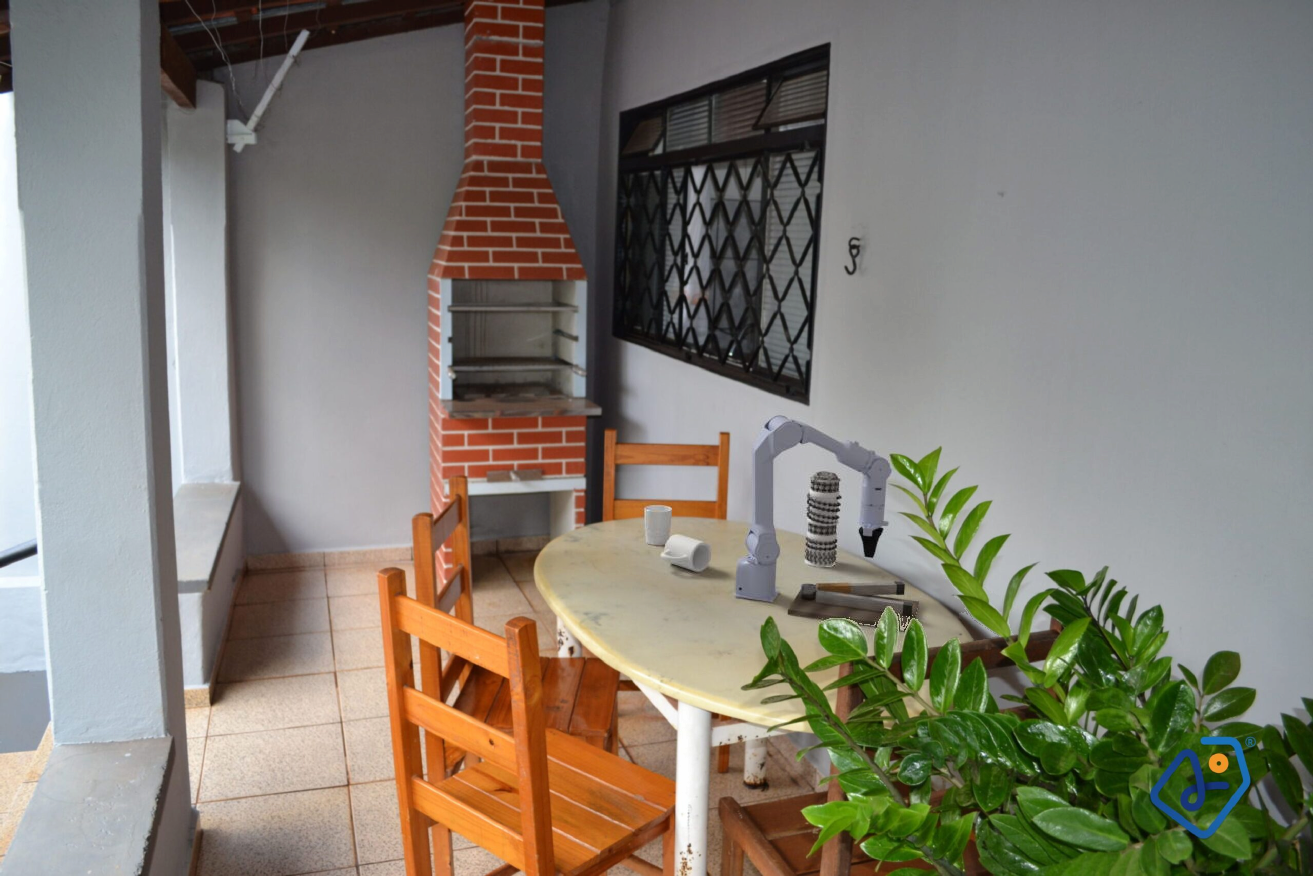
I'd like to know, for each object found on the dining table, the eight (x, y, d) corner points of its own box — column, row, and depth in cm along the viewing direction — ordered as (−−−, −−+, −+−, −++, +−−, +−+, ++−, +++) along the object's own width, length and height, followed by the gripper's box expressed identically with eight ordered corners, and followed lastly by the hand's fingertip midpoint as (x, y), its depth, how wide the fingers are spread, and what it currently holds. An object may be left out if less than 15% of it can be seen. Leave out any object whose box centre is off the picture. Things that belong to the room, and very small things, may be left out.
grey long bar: (815, 602, 231) (816, 592, 230) (817, 600, 232) (817, 590, 232) (911, 616, 223) (912, 605, 223) (912, 613, 225) (912, 603, 225)
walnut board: (787, 614, 226) (787, 609, 226) (802, 590, 243) (803, 585, 243) (911, 632, 217) (912, 627, 217) (918, 606, 234) (919, 601, 234)
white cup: (676, 541, 282) (677, 507, 280) (661, 547, 275) (662, 513, 273) (653, 536, 286) (653, 503, 284) (638, 543, 279) (638, 509, 277)
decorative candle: (820, 556, 271) (825, 468, 267) (844, 565, 264) (850, 474, 259) (796, 561, 266) (800, 471, 262) (819, 570, 259) (825, 478, 254)
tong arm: (803, 600, 231) (803, 588, 231) (798, 594, 235) (798, 583, 235) (907, 597, 235) (908, 586, 235) (900, 591, 239) (901, 580, 239)
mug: (684, 559, 265) (684, 531, 263) (711, 568, 258) (712, 539, 257) (652, 568, 257) (653, 539, 255) (679, 578, 250) (680, 548, 248)
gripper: (886, 512, 231) (882, 567, 233) (892, 498, 244) (889, 550, 247) (856, 508, 233) (852, 563, 236) (864, 495, 246) (860, 547, 249)
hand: (869, 556), depth 241 cm, fingers closed
